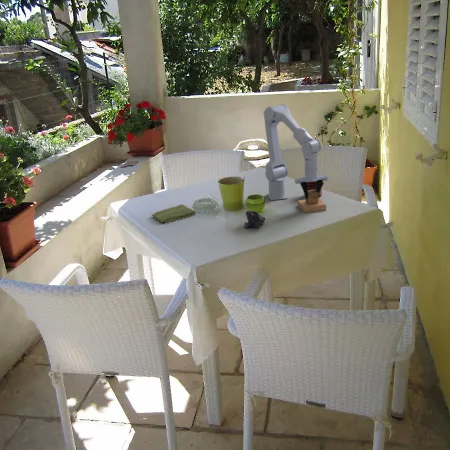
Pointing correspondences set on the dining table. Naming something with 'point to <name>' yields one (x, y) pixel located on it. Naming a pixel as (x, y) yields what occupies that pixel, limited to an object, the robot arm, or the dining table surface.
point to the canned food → (312, 185)
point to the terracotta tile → (311, 206)
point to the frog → (254, 219)
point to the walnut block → (312, 197)
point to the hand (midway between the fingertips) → (311, 197)
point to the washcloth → (173, 213)
